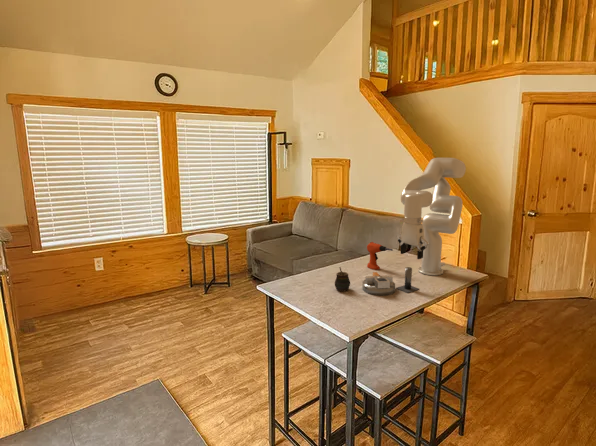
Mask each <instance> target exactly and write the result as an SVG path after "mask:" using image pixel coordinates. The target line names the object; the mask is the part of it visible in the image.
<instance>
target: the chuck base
mask: <svg viewBox="0 0 596 446" xmlns="http://www.w3.org/2000/svg"><path fill="white" fill-rule="evenodd" d="M361 288H362V291H363V292H364V293H366V294H368V295H372V296H381V297H383V296H391V295H393V294H394V293H395V292H396V283H395V282H394V281H392V283H390V288H379V289H378V288H377V287H376V286H375V285H374V284H366V283H365V279H364V280H363V281H362V287H361Z"/></svg>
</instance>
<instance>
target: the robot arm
mask: <svg viewBox="0 0 596 446" xmlns="http://www.w3.org/2000/svg"><path fill="white" fill-rule="evenodd" d="M466 168H467V167H466V164H465V162H464V161H462V160H460V159H458V158H456V157H433V158H432V159H430V160H429V162H428V164H427V166H426V167H425V169H424V171H423V172H422V174H421V175H419V176H417V177H415V178H413V179H412V180H410V181H409V182H408V183H406V185H405V186H404V188H403V190H402V192H401V195H400V202H401V204H402V205H404V212H403V215H404V216H403V223H402V226H401V233H398V234H397V235H396V239H397V242H398V243H399V246H400V255H404V254H407V245H410V246H413V247H414V246H415V247H416V248H417V257H416V259H417V260H421V264H420V265H421V266H419V267H418V268H417V270H418V272H419V273H420V274H421V275H427V276H441V275H443V274H444V270H443V269H442V267H444V266H446V263H445V262H442V261H441V260H442V249H443V239H442V237H441V235H440V233H441V234H448V235H454V234H455V233H456V232H457V231H458V227H459V223H460V220H461V215H462V211H463V200H462V198H461V197H460V196H458V195H450V194H451V190H452V188H451V185H450V183H449V182H448V180H447V179H446V178H449V179H450V178H451V179H452V178H454V179H460V178H463V177H464V176H465V174H466V171H467V169H466ZM431 188H433V190H432V192H430V191H428V189H431ZM428 207H429V209H430V211H431V212H433V213H431V212H430V213H426V214H424V215H423V217H422V213H423V212H422V211H423V210H422V209H423V208H428Z"/></svg>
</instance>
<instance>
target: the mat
mask: <svg viewBox="0 0 596 446" xmlns="http://www.w3.org/2000/svg"><path fill="white" fill-rule="evenodd" d="M404 287H405V284H404V285H401V286H398V287H395V290H398V291H401V292H404V293H406V294H410V293H413V292H417V291H419V290H420V288H418V287H416V286H412V285H411V289H409V290H408V289H405V288H404Z"/></svg>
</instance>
